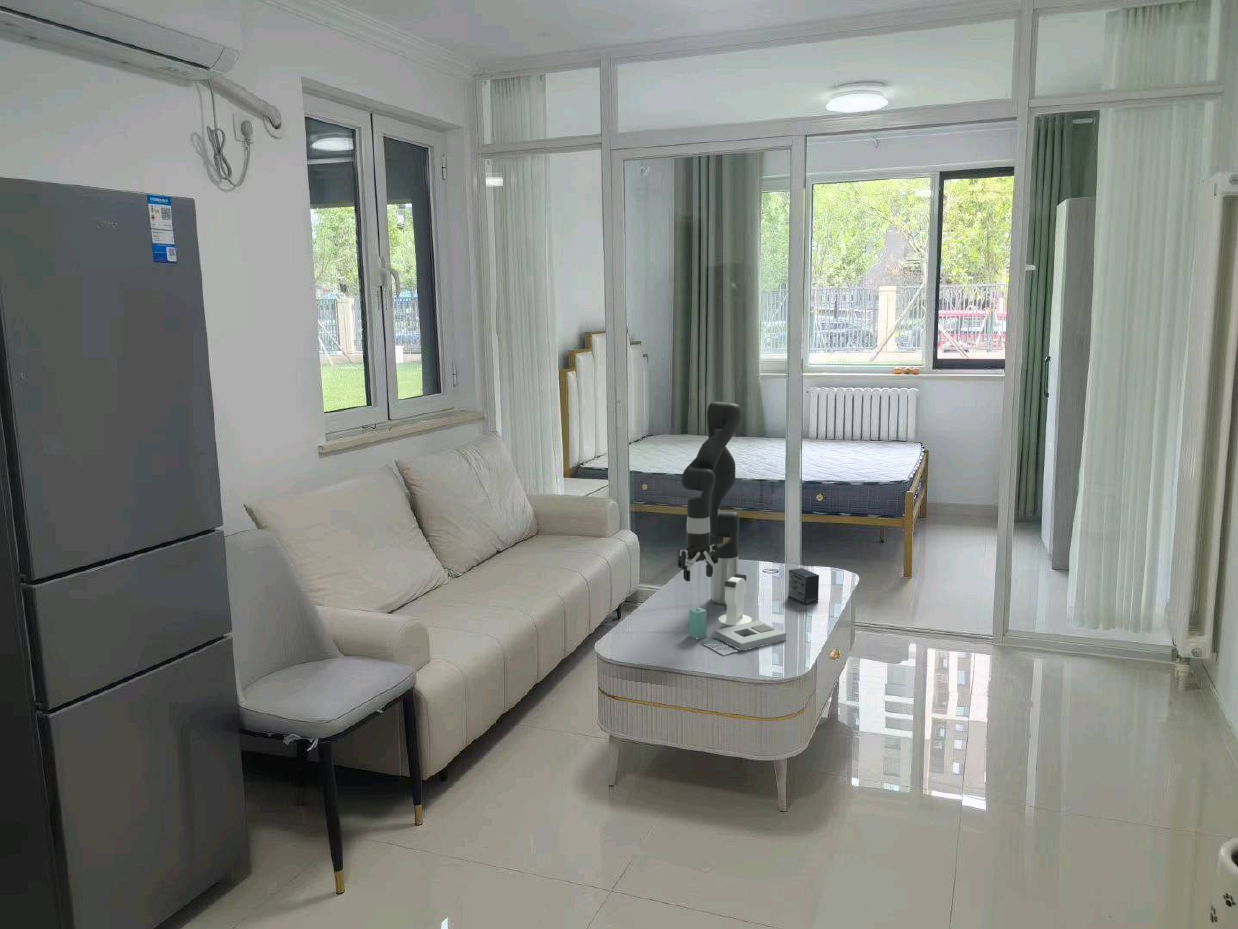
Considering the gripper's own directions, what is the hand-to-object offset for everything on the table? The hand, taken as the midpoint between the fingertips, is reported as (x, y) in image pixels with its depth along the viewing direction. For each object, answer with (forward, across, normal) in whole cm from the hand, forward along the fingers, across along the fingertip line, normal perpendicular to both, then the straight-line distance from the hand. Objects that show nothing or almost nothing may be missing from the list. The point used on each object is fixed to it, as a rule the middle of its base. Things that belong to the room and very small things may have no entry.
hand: (698, 578), depth 301 cm
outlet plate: (+20, -13, +11) cm, 26 cm away
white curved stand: (+20, -20, -6) cm, 29 cm away
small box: (+20, -54, -10) cm, 58 cm away
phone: (+20, 0, +12) cm, 23 cm away
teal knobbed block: (+20, 0, 0) cm, 20 cm away
